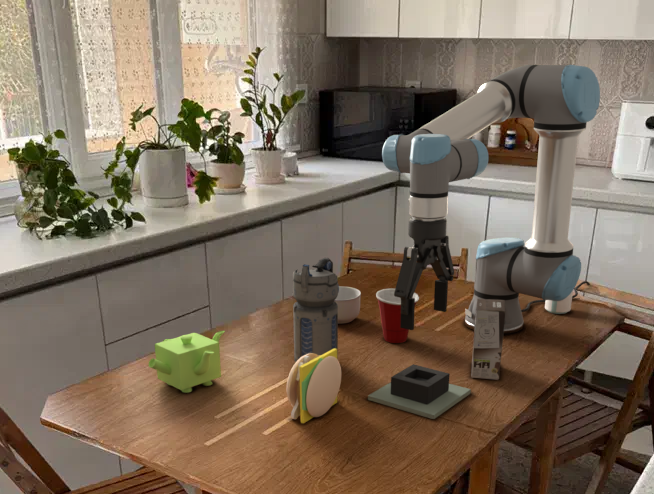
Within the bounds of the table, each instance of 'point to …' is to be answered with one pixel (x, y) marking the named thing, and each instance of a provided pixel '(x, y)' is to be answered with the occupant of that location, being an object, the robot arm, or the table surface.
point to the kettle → (188, 360)
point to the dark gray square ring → (420, 384)
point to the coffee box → (488, 338)
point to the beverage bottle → (315, 309)
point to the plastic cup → (392, 315)
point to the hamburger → (313, 385)
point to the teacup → (348, 304)
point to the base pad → (419, 408)
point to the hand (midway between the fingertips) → (424, 319)
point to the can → (559, 305)
